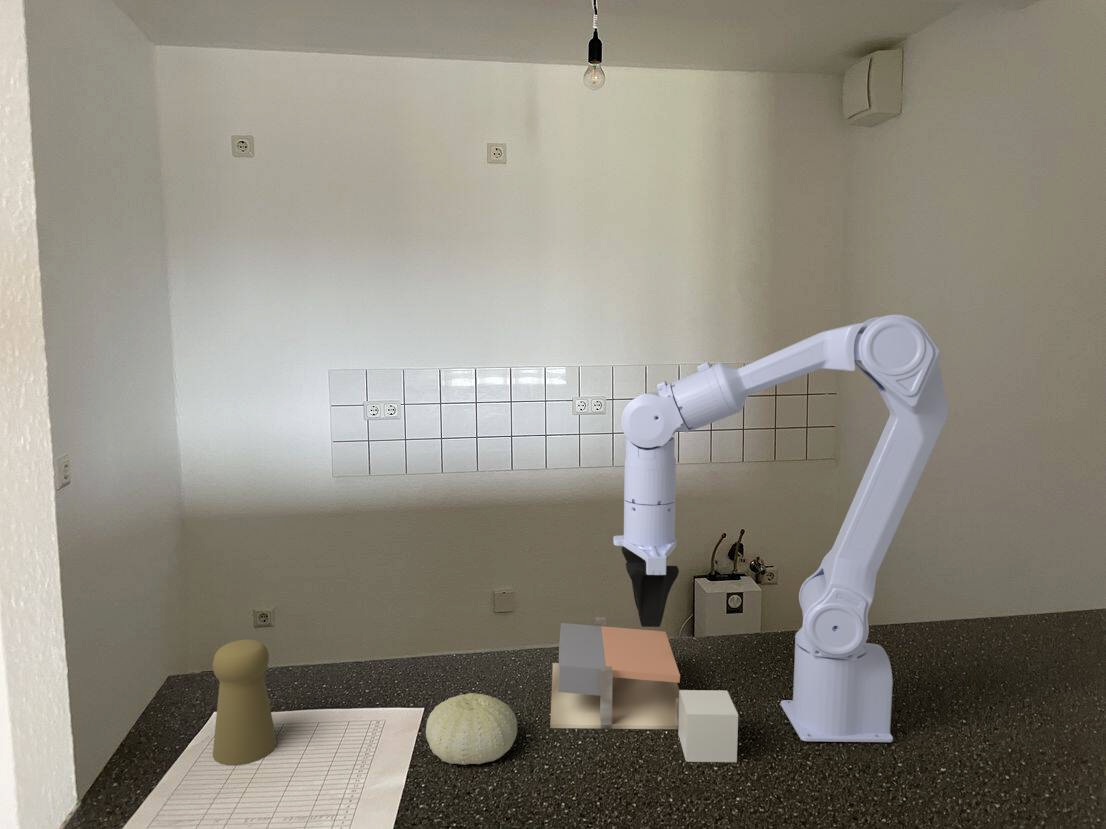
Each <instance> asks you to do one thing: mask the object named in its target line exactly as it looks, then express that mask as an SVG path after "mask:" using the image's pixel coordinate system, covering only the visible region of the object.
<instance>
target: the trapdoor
mask: <svg viewBox="0 0 1106 829" xmlns="http://www.w3.org/2000/svg"><path fill="white" fill-rule="evenodd" d="M558 644H559V645H558V663H559V674H558V692H564V693H576V694H587V695H599V696H601V666H612V670H613V674H612V677H617V678H628V679H640V680H652V681H664V682H676V683H677V684H678V683H679V684H680V681H681V680H680V679H681V674H680V671H679V668H678V665H677V661H676V660H675V656H674V653H673V651H672V650H673V649H672V648H671V644H670V641H669V638H668V634H667V631H661V630H650V629H649V630H648V629H640V628H639V629H636V628H627V627H625V628H624V627H617V626H616V627H614V626H606V627H604V626H596V625H592V624H578V623H566V622H561V623H560V631H559V643H558Z"/></svg>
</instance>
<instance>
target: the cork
mask: <svg viewBox="0 0 1106 829" xmlns="http://www.w3.org/2000/svg"><path fill="white" fill-rule="evenodd" d="M269 655H270V654H269V651H268V648H267V647H266V646H265V644H264V643H263V642H262V641H258V640H256V639H238V640H234V641H231V642H228V643H225V644H224V645H222V646H221V647H220V648H218V650H216V652H215V654H214V656H213V660H212V671H213V673H214V675H215V678H216V679H217V680H218V681H219V684H218V696H217V704H216V705H217V706H216V716H215V727H214V728H215V729H214V739H213V747H212V757H213V759H214V761H215V762H217V763H219V764H220V765H225V766H241V765H248V764H251V763H255V762H257V761H259V760H261V759H263V758H265V757H267V756H268V755H269V754H271V753H272V752H273V751H274V750H275V748H276V747H277V737H276V731H275V726H274V725H275V724H274V720H273V715H272V710H271V706H270V700H269V695H268V690H267V683H266V680H265V672H266V671H267V669H268V666H269V659H270V658H269V657H270V656H269Z"/></svg>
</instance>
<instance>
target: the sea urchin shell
mask: <svg viewBox="0 0 1106 829" xmlns="http://www.w3.org/2000/svg"><path fill="white" fill-rule="evenodd" d="M425 727H426V728H425V739H426V741H427V743H428V744H429V745H428V746H429V747H430V750H431V751H432V754H434V755H435V756H437V758H439V759H440V760H441V761H442V762H444V763H448V764H451V765H453V764H456V765H463V766H466V765H470V764H471V765H473V764H475V765H481V764H484V763H489V762H494V761H497V760H499V759H500V758H501V757H503V756H504V755H505V754H506V753H507V752H508V751H510V749H511V747H513V744H514V742H515V740H516V739H517V738H516V737H517V734H518V730H519V729H518V720H517V716H516V714H515V712H514V710H512V708H511V707H510V705H508V704H507V703H505V702H504V701H502V700H500V699H498V698H497V697H493V696H491V695H487V694H484V693H476V692H474V693H473V692H472V693H471V692H469V693H466V694H459V695H456V696H452V697H449V698H448V699H446V700H444V701H443V702H440V703H439V704H438V705H436V706H434V708H433V710H432V711H431V712H429V716H428V718H427V721H426V726H425Z"/></svg>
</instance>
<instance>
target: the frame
mask: <svg viewBox="0 0 1106 829" xmlns="http://www.w3.org/2000/svg"><path fill="white" fill-rule="evenodd" d="M606 619H607V618H606V616H595V626H604V627H607V626H606V625H607V624H606ZM551 674H552V676H551V694H550V695H551V702H550V721H549V722H550V723H549V724H550V725H549V726H550V729H599V730H600V729H602V730H603V729H608V730H609V729H612V730H613V729H614V730H617V729H618V730H620V729H621V730H678V728H679V690H680V688H679V685H678V683H676V682H664V681H652V680H640V679H628V678H617V677H612V674H613V670H612V666H601V696H599V695H587V694H576V693H564V692H558V674H559V662H552V673H551Z"/></svg>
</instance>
